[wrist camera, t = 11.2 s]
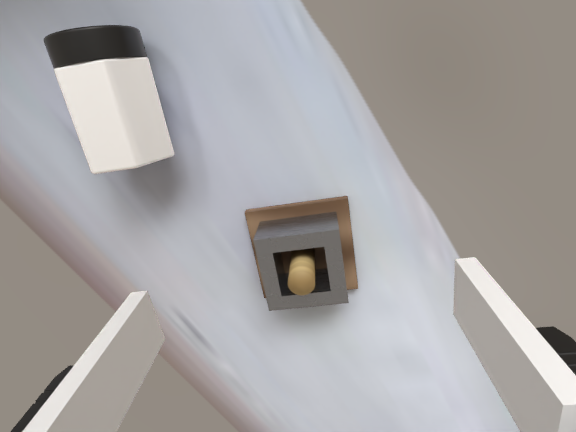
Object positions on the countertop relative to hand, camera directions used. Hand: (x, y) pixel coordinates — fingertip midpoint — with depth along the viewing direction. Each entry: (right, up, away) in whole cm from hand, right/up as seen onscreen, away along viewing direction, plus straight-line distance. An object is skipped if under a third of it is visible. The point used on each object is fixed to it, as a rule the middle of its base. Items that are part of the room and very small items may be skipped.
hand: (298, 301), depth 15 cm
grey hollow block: (+1, -1, +28) cm, 28 cm away
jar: (-16, +9, +22) cm, 29 cm away
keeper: (+2, 0, +29) cm, 29 cm away
